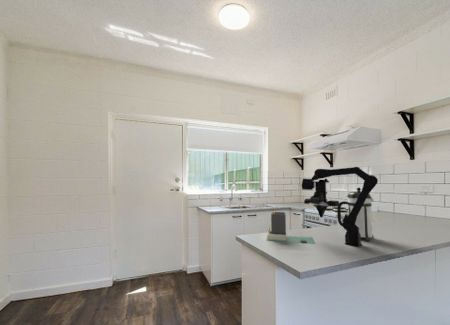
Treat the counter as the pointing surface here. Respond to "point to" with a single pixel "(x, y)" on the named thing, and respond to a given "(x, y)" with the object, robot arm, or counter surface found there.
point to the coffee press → (363, 217)
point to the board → (289, 238)
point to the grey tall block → (278, 223)
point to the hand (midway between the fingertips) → (321, 217)
